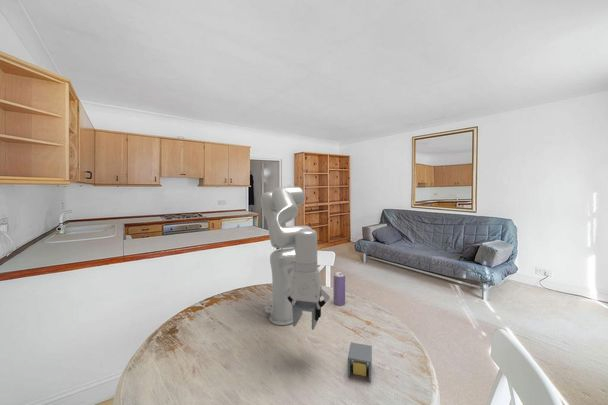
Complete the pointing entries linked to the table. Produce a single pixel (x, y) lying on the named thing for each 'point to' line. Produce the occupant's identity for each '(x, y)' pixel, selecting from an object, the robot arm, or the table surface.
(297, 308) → the left cover
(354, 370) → the cube
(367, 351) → the right cover
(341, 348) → the table surface
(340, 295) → the beverage can
